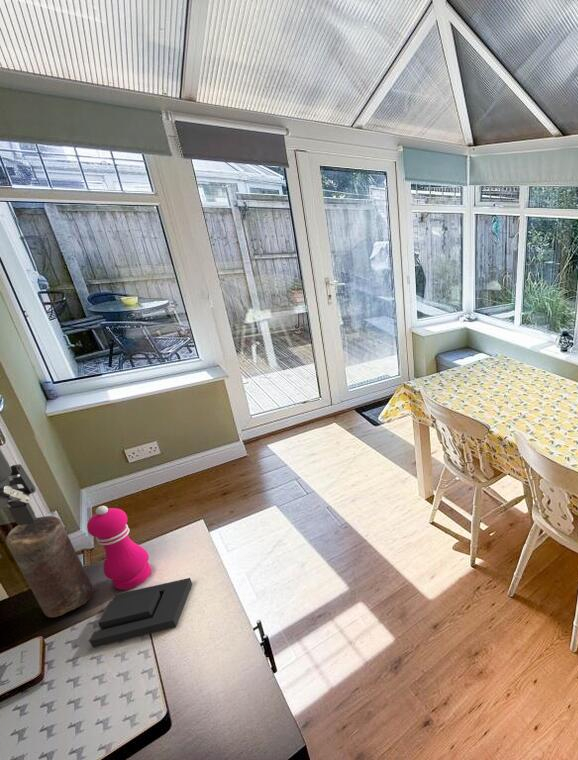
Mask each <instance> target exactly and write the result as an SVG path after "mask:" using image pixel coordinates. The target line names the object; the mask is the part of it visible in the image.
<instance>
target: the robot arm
mask: <svg viewBox="0 0 578 760" xmlns="http://www.w3.org/2000/svg"><path fill="white" fill-rule="evenodd" d="M18 485H21V486H22V487H19V486H18ZM34 493H36V486H35V485H34V483H33V482H32V480H31V478H30V477H29V475H28V474H27V472H26V470H25V469H24V467H23V466H22V464H19V463H18V464H10V463H9V462H8V460H7V458H6V457H5V455H4V453H3V451H2V449H1V448H0V511H1V510H3V509H4V508H6V507H8V508H7V509H8V511H9V513H10V514H11V516H12V518H13V520H14V521H15V523H16V524H17V526H18V525H26V524H32V523H34V522H35V520H36V519H37V518H38V517H37V516H36V514H35V511H34V509H33V508H32V506H31V504H30V502H31V496H30V495H31V494H34ZM2 558H3V556H2V553H0V560H1V559H2Z"/></svg>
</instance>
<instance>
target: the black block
mask: <svg viewBox="0 0 578 760" xmlns="http://www.w3.org/2000/svg"><path fill="white" fill-rule="evenodd" d="M160 600H161V595H160V593H159V590H157V591H152V592H148V593H144V594H139V595H135V596H130V597H126V598H121V599H117V600H113V599H111V600H109V603H108V604H107V606H106V608H105V610H104V611H103V613H102V615H101V617H100V618H99V620H98V622H97V625H98V627H99V628H100V630H103V629H107V628H112V627H116V626H120V625H124V624H128V623H132V622H136V621H140V620H144V619H149V618H153V615H154V613H155V611H156V609H157V606H158V604H159V602H160Z"/></svg>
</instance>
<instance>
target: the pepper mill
mask: <svg viewBox="0 0 578 760" xmlns="http://www.w3.org/2000/svg"><path fill="white" fill-rule="evenodd" d="M86 529H87V532H88V534H89V535H90V536H92V537H95V540H96V542H97V544H98V545H100V546H102V547H103V548H104V551H105V557H104V561H103V568H102V569H103V570H102V571H103V573H104V576H105V578H107V579H109V580H111V582H112V584H113V587H114V588H115V589H117V590H119V591H120V590H121V591H125V590H130V589H133V588H135V587H137V586H139V585H141V584H143V583H144V582H145V581H146V580H148V578H149V577H150V575H151V573H152V567H151V565H150V563H149V560H150V556H149V553H148V551H147V550H146V548H144V547H142V545H139V544H138V543H135V541H133V540H131V538H130V536H129V533H130V531H131V530H130V528H129V525H128V515H127V513H126V512H125V511H124V510H123V509H121V508H116V507H109V508H108V506H106V505H100V506H98V507H97V508H96V509H95V514H93V515H92V516H91V517H90V518H89V520H88V521H87V524H86ZM106 559H107V560H106Z"/></svg>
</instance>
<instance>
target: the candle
mask: <svg viewBox="0 0 578 760" xmlns="http://www.w3.org/2000/svg"><path fill="white" fill-rule="evenodd" d="M36 518H37V519H36V520H35V522H34V523H32V524H26V525H18V524H17V525H16V526H15V527H14V528H12V529H11V530H10V531H9V532H8V534H7V535H6V537H5V543H6V546H7V548H8V550H9V552H10V553H11V555H12V557H13V559H14V560H15V562H16V564H17V566H18V567H19V569H20V571H21V573H22V575H23V577H24V579H25V580H26V582H27V584H28V586H29V588H30V590H31V592H32V594H33V596H34V598H35V599H36V601H37V603H38V605H39V607H40V609H41V611H42V612H43V614H44V615H45V616H46V617H47V618H58V617H60V616H63V615H65V614H66V613H68V612H71V611H74V610H76V609H78V608H80V607H82V606H83V605H85V604H86V603H87V602H88V601H89V600H90V599H91V596H92V595H93V593H94V589H95V588H94V586H93V584H92V581H91V580H90V577H89V575H88V573H87V571H86V569H85V567H84V565H83V563H82V561H81V559H80V557H79V555H78V553H77V551H76V549H75V547H74V546H73V543H72V541H71V538H70V537H69V535H68V533H67V531H66V529H65V527H64V524H63V521H62V520H61V519H60V518H59V517H57V516H53V515H46V516H40V517H39V516H37V517H36Z"/></svg>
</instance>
